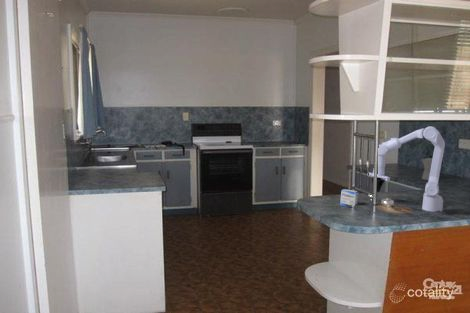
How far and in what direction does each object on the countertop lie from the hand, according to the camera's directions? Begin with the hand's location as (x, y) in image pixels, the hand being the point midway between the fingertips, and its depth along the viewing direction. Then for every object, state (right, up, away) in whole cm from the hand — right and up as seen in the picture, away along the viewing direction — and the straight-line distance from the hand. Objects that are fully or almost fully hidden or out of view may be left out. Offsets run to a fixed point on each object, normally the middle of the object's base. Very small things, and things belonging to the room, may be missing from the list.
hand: (377, 191), depth 218 cm
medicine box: (-17, -8, -4) cm, 19 cm away
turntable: (+5, -9, -11) cm, 15 cm away
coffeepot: (+70, +1, +85) cm, 110 cm away
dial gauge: (-5, -8, -5) cm, 11 cm away
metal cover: (+3, -7, -7) cm, 10 cm away
